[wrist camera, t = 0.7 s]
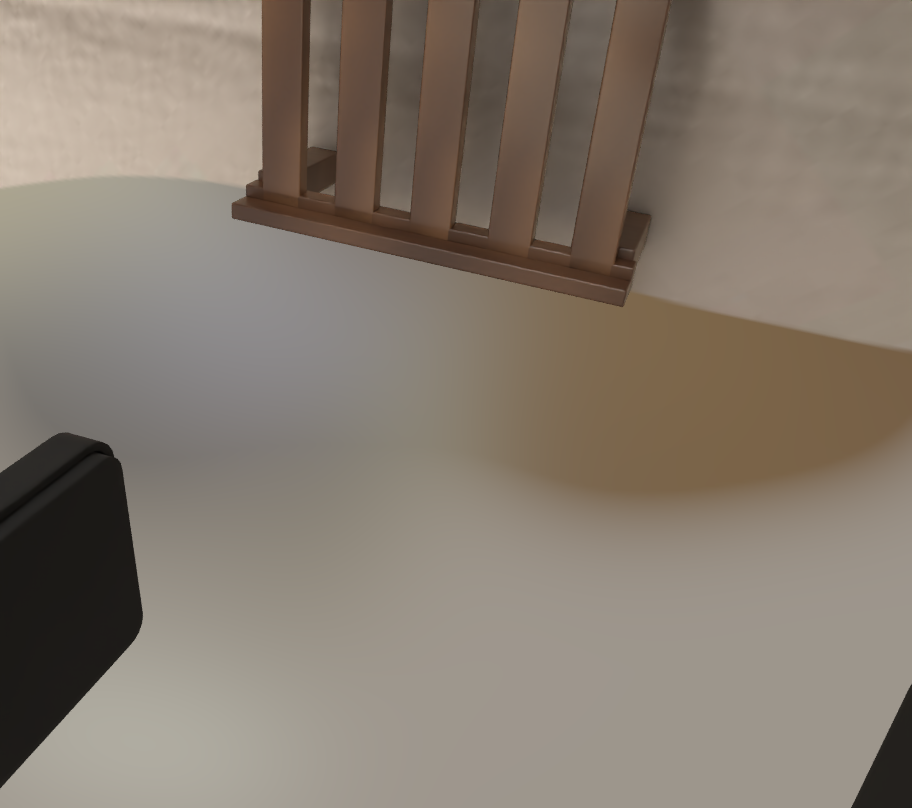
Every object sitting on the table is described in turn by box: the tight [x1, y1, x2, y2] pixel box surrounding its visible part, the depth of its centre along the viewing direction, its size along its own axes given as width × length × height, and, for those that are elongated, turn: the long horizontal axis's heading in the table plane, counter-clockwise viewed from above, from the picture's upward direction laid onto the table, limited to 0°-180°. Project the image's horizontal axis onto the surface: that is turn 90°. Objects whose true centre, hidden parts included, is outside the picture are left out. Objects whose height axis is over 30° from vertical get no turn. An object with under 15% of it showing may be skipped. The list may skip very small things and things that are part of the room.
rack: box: [232, 0, 672, 307], centre depth 35 cm, size 17×13×7 cm
